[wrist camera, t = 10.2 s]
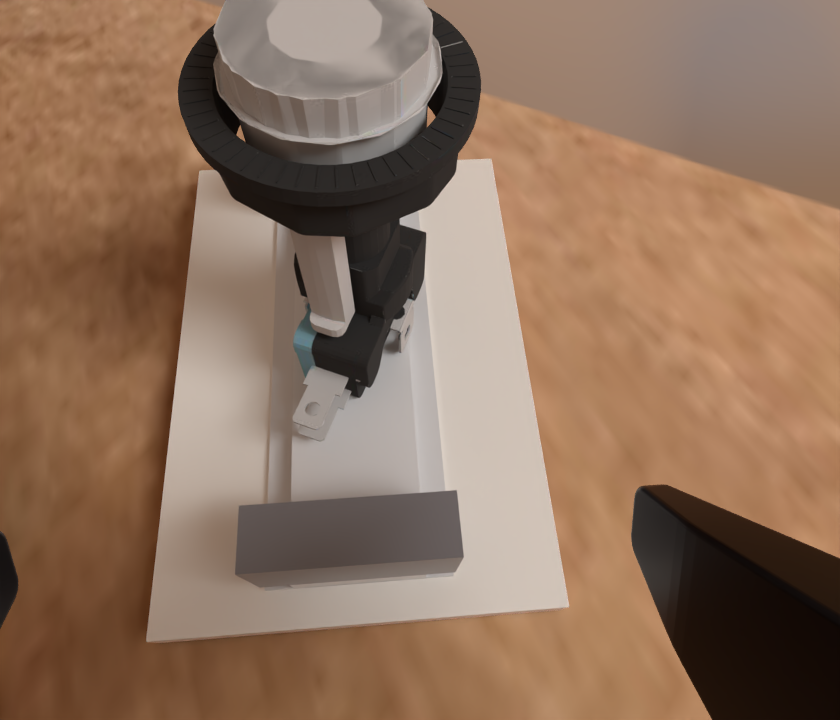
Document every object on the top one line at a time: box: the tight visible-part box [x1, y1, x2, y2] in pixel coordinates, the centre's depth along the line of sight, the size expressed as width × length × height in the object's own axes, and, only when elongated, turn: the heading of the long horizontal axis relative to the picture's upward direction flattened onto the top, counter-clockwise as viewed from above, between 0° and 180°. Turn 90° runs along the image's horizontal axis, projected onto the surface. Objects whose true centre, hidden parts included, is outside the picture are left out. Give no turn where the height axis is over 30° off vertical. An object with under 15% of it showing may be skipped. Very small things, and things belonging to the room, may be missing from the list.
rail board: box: [146, 159, 569, 643], centre depth 18 cm, size 16×11×4 cm
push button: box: [178, 0, 481, 442], centre depth 14 cm, size 7×5×10 cm
